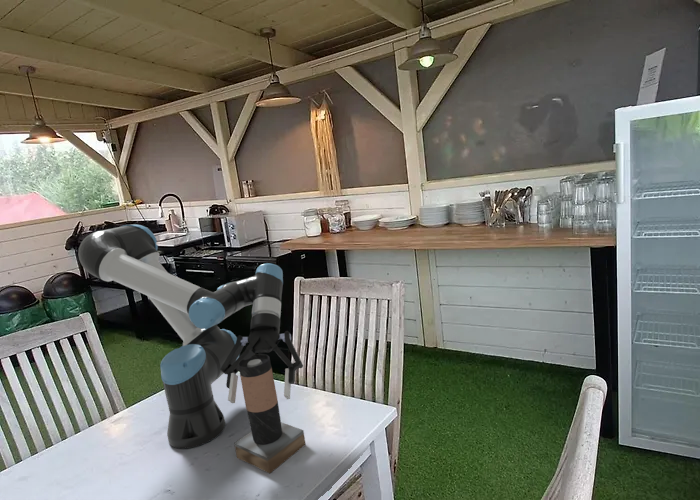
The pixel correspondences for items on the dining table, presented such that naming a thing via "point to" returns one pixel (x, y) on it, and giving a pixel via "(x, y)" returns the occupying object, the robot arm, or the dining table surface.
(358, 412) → the dining table surface
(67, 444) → the dining table surface
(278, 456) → the walnut stand
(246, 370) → the travel mug
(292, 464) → the dining table surface
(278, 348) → the robot arm
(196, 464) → the dining table surface
